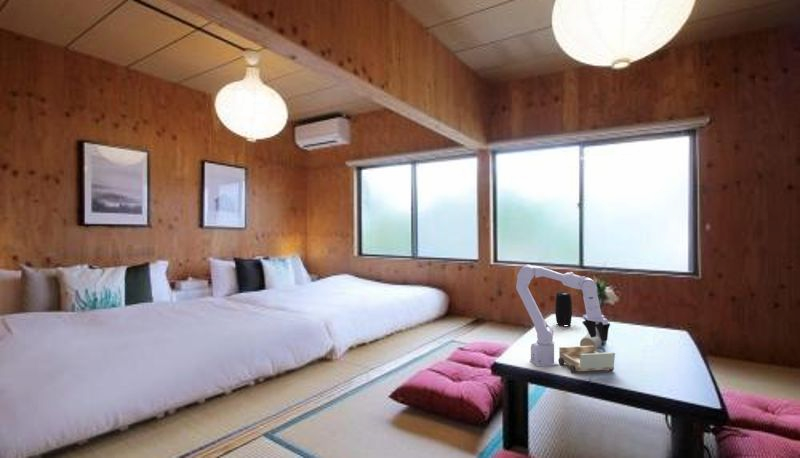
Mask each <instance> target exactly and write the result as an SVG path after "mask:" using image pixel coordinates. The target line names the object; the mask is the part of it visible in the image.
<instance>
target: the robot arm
mask: <svg viewBox="0 0 800 458" xmlns="http://www.w3.org/2000/svg"><path fill="white" fill-rule="evenodd" d="M516 276H517V279H516V285H515V287H516V291H517V292H518V295H519V296H520V299H521V301H522V302H523V303H522V304H523V305H524V307H525V309H526V311H527V313H528V314H529V317H530V319H531V321H532V323H533V325H534V329H535V332H536V334H537V335H536V337H537V338H536V339H537V340H536V342H533V343H532V344H531V345H530V359H529V361H530V362H532V363H533V364H534V365H536V366H537V367H549V366H559V363H558V362H557V361H555V342H554V341H553V340H554V338H553V336H554V330H553V328H552V327H551V326H549V324H548V323H547V321H546V320H545V319H544V316H543V315H542V312H541V310H540V309H539V307H538V304H537V303H536V300H535V299H534V297H533V295H532V293H531V291H530V288H529V285H530V283H531V281H532V279H534V278H535V279H536V278H541V277H544V278H548V279H552V280H556V281H558V282H559V281H560V282H561V283H562V285H563V286H565V287H569V288H572V289H576V290H581V291H582V294H583V298H582V299H583V302H584V307H585V312H586V314H582V318H583V320H584V321H581V322H582V324H583V326H584V327H585V328H586V330H587V332H588V334H590V336H591V337H596V335H597V333H599V338H600V340H601V342H605V341H608V334H609V329H610V326H611V324H610V322H608V321H609V320H608V318H605V315H603V314H602V310H601V304H600V300H599V296H598V294H597V293H598V291H597V285H596V282H595V280H593V278H590V277H586V275H585V276H584V275H583V276H581V275H577V274H574V272H573V271H570V272H565V273H561V272H557V271H555V270H552V269H549V268H546V267H543V266H538V265H532V264H529V263H528V264H524V265H522V267H521V268H520V269H519V271H518V273H517V275H516ZM596 330H597V331H598V332H597V331H596Z"/></svg>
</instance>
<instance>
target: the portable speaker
mask: <svg viewBox="0 0 800 458" xmlns="http://www.w3.org/2000/svg"><path fill="white" fill-rule="evenodd" d="M571 294H572V293H571V292H566V291H558V292H556V295H555V309H554V310H555V320H556V324H557V323H558V324H557V325H560V326H561V325H568V326H570V325H572V324H571V323H572V318H573V302H572V296H571ZM569 324H570V325H569Z"/></svg>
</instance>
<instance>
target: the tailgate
mask: <svg viewBox="0 0 800 458" xmlns="http://www.w3.org/2000/svg"><path fill="white" fill-rule="evenodd" d="M615 359H616V352H614V351H610V352H609V351H608V352H605V353H588V354H581V355H580V367H579V368H580V369H588V368H605V367H614V368H615Z"/></svg>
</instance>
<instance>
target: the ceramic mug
mask: <svg viewBox="0 0 800 458" xmlns="http://www.w3.org/2000/svg"><path fill="white" fill-rule="evenodd" d="M579 345H580V346H594V351H596V352H598V353H607V352H606V351H607V349H606V348H605V347H604V346H603V345H602V340H601V338H600V336H598V334H596V337H591V336H590V334H589V333H588V334H586V335H585V336H584V337H582V338H581V340H580V342H579ZM599 349H600V350H599Z"/></svg>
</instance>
